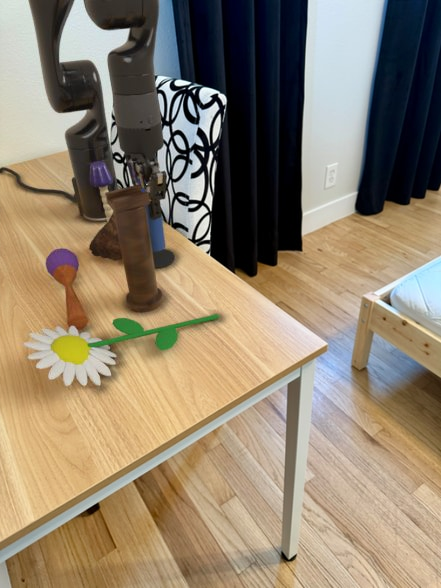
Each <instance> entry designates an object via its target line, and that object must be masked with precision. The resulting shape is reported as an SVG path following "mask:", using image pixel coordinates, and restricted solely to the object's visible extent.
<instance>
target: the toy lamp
mask: <svg viewBox="0 0 441 588" xmlns="http://www.w3.org/2000/svg"><path fill="white" fill-rule="evenodd" d="M112 182H113V178H112V176H111V174H110V172H109V170H108V168H107V166H106V164H105V163H104V162H102V161H97V162H93V163H92V164H91V165H90V184H91V185H92V186H95V187H99V189H100V194H101V196H102V202H103V203H104V204H103V207H104V209H105V215H106V216H107V217H106V219H107V221H106V223H107V222H108V221H109V219H110V218H111V216H112V214H113V210H112V208H111V207H110V206H109V205H108V204H107V200H106V195H105V193H106V192H109V191H108V189H107V188H108V186H107V185H109V184H111V183H112Z"/></svg>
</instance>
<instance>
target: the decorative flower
mask: <svg viewBox="0 0 441 588" xmlns="http://www.w3.org/2000/svg"><path fill="white" fill-rule="evenodd" d="M219 318H220V317H219V314H218V313H215V314H211V315H207V316H202V317H198V318H194V319H190V320H185V321H181V322H176V323H171V324H169V325H164V326H160V327H155V328H150V329H147V330H145V328H144V327H143V325H142V324H141V323H139V322H137V321H136V320H134V319H131V318H128V317H117V318H114V319H113V320H112V326H113V327H114V328H115V329H116V330H117V331H119V332H120V333H122V334H125V335H121V336H116V337H112V338H106V339H102V338H99V337H91V334H90V333H89V332H88V331H84V332H81V333H80V332H79V330H77V329H76V328H75V326H70V327H68V331H67V330H66V329H64V327H61V326H59V325H57V326H55V327H54V330H55V331H54V330H52V329H50V328H49V329H48V328H45V327H43V328H41V329H40V332H41V333H43V334H41V333H36V332H31V333H28V335H29V337H30V338H31V339H33V340H34V341H25V342H24V343H23V345H24V347H26V348H29V349H31V350H34V351H36V352H33V353H31V354H29V355H27V359H29V360H39V361H38V362H37V363H36V364H35V365H36V366H35V368H36V369H40V370H41V369H42V370H43V369H48V368H50V367H51V368H50V369H49V371H48V376H47V377H48V379H49V380H55V379H57V378H59V377H60V376H61V375H62V381H63V384H64V385H65V386H66V387H68V386H71V385H72V383H73V381H74V379H75V378H76V381H78V383H79V384H80V385H82V386H83V387H86V386H87V384H88V378H89V379H90V381H91V382H92V383H93V384H94V385H96V386H101V384H102V381H101V376H100V374H101V375H103V376H105V377H111V376H112V372H111V370H110V368H109V366H108V365H110V366H111V365H113V366H114V365H117V362H116V361H115V359H113V358H117V357H118V356H117V354H116V353H114V352H112V351H111V346H110V345H112V344H117V343H121V342H126V341H130V340H133V339H137V338H142V337H147V336H150V335H154V334H156V335H155V339H154V343H155V347H156V348H157V349H158V350H159V351H167V350H169V349H171V348H173V347H174V346H175V344H176V343H177V342H178V338H179V332H178V329H180V328H183V327H188V326H192V325H197V324H202V323H205V322H210V321H214V320H218V319H219ZM79 333H80V334H79Z"/></svg>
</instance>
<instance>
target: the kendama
mask: <svg viewBox="0 0 441 588" xmlns="http://www.w3.org/2000/svg"><path fill="white" fill-rule="evenodd" d="M45 259H46V260H45V268H46V271H47V273H48V274H49V275H50V276H51V277H52V278H53V279H54V280H55V281H56V282H57V283H59V284H61V285H62V286H64V292H65V294H64V295H65V308H66V309H65V310H66V323H67V327H68V328H70V326H75V328H76V329H77V330H78V331H79V330H82V329H84V328H86V327H87V325H89V318H88V316H87V314H86V311H85V309H84V307H83V305H82V303H81V300H80V299H79V297H78V295H77V293H76V291H75V289H74V287H73V283H74V281H75V279H76V278H77V274H78V271H79V267H80V263H79V259H78V256H77V254H75V253H74V252H73V251H72V250H69V249H68V248H62V247H61V248H56V249H53V250H52V251H50V253H49V254H48V256H47V257H46V258H45Z"/></svg>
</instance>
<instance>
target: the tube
mask: <svg viewBox="0 0 441 588" xmlns="http://www.w3.org/2000/svg"><path fill="white" fill-rule="evenodd" d="M141 191H142V192H145V189H141ZM146 212H147V219H148V226H149V233H150V239H151V246H152V251H153V252H157V251H161V250H163V249H165V248H166V240H165V232H164V231H165V230H164V225H163V223H164V222H163V215H162V216H161V217H160V218H157V219H154V220H152V219H151V218H150V217H149V210H148V205H146Z"/></svg>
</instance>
